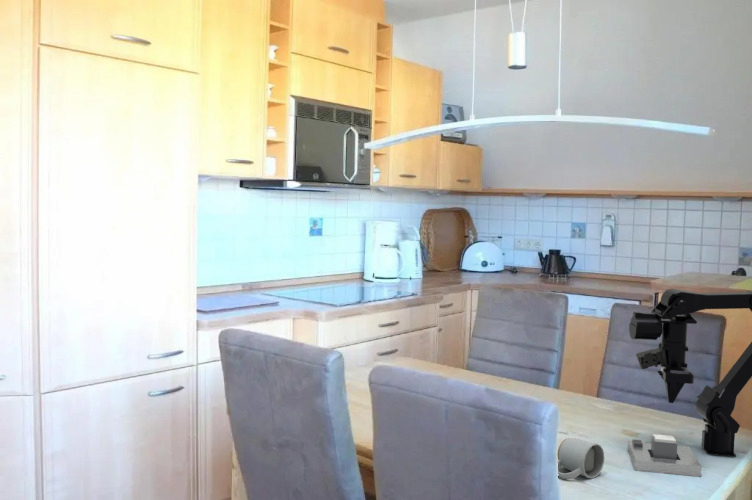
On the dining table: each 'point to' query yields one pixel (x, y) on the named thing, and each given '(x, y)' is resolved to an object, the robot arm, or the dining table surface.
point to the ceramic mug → (580, 458)
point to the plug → (663, 447)
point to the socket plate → (663, 460)
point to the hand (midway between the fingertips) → (670, 402)
